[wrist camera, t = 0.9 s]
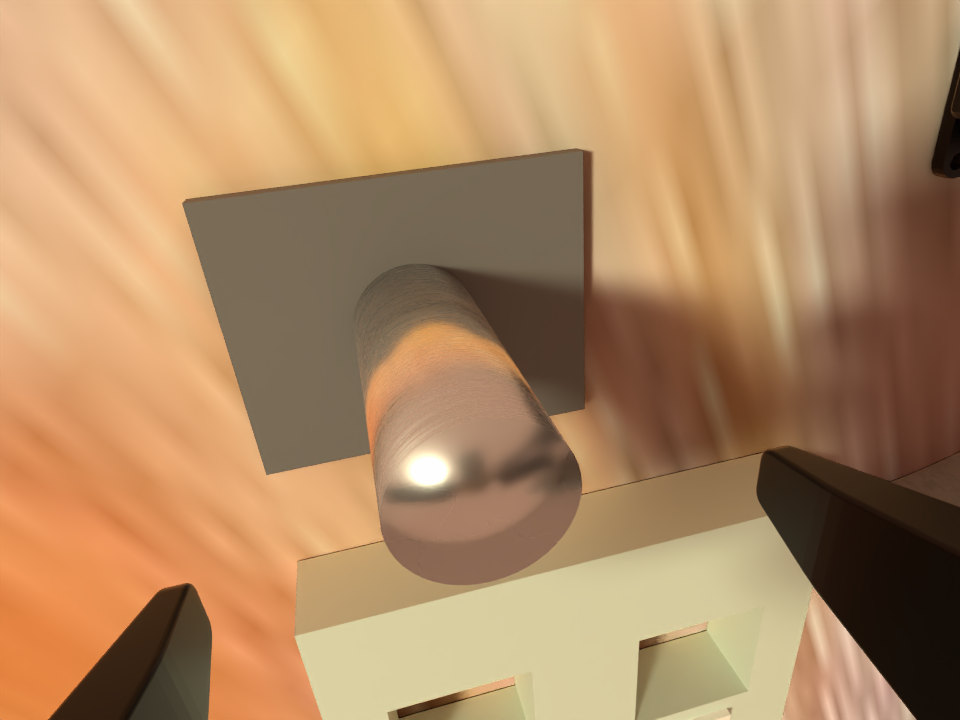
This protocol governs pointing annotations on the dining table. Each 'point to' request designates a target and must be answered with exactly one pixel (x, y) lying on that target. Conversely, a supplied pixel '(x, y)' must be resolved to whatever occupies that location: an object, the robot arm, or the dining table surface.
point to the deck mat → (372, 251)
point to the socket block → (574, 616)
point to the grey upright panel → (937, 480)
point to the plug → (456, 435)
